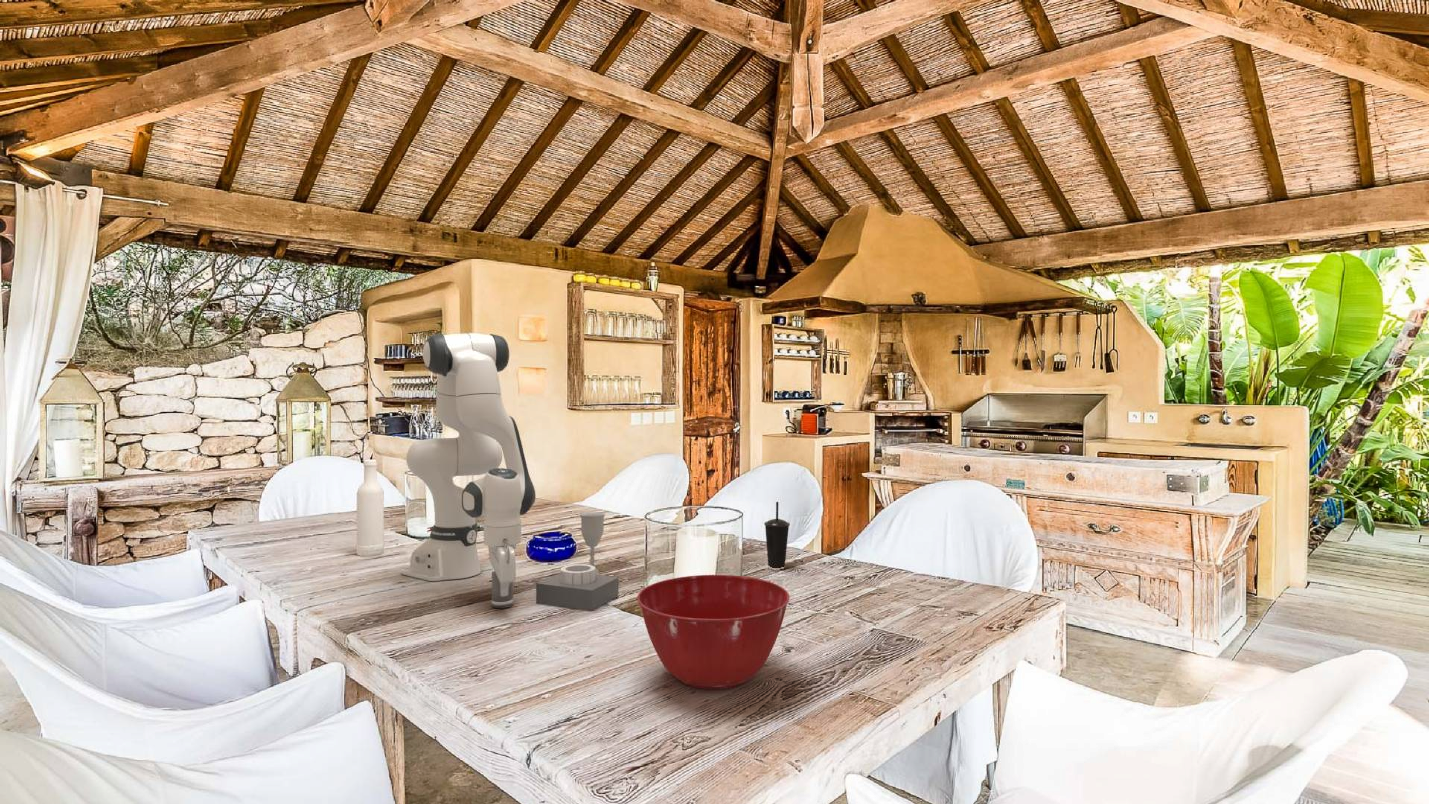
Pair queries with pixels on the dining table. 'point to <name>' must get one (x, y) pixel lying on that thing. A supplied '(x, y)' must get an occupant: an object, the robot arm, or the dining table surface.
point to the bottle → (370, 513)
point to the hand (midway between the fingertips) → (502, 591)
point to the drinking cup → (776, 541)
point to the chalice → (592, 531)
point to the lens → (497, 599)
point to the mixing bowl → (713, 626)
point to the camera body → (577, 588)
